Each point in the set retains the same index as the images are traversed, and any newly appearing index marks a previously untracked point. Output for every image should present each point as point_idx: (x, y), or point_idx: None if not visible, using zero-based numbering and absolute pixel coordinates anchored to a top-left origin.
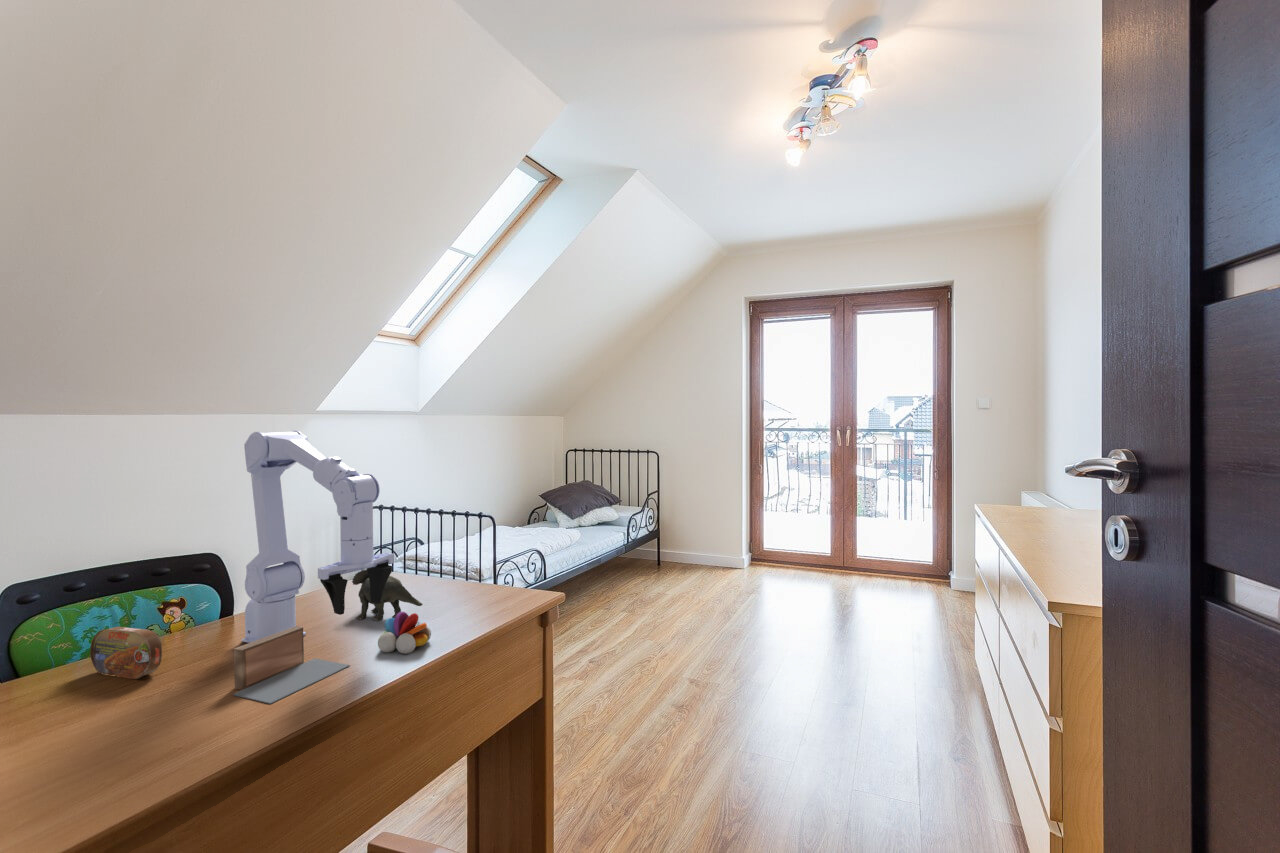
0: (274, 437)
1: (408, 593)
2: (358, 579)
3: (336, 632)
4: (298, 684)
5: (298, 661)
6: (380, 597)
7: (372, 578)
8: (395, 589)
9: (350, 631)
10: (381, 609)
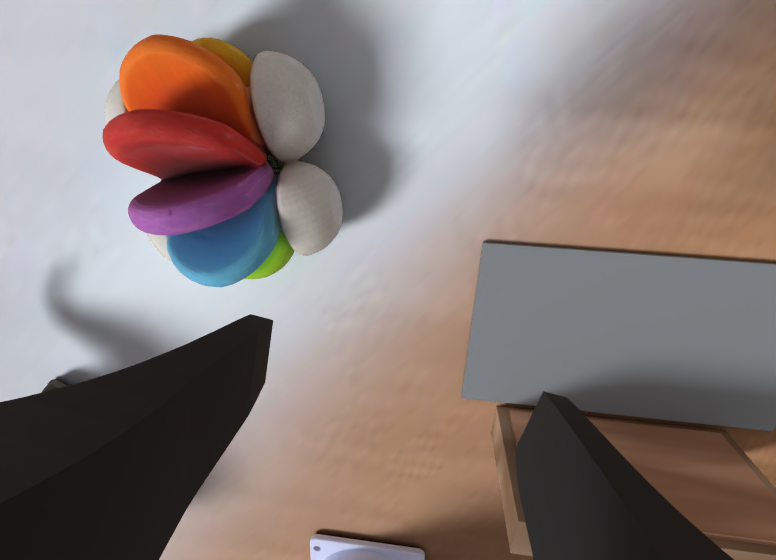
0: None
1: None
2: None
3: (259, 474)
4: (685, 294)
5: (525, 416)
6: (233, 329)
7: (141, 547)
8: None
9: (233, 445)
10: None
